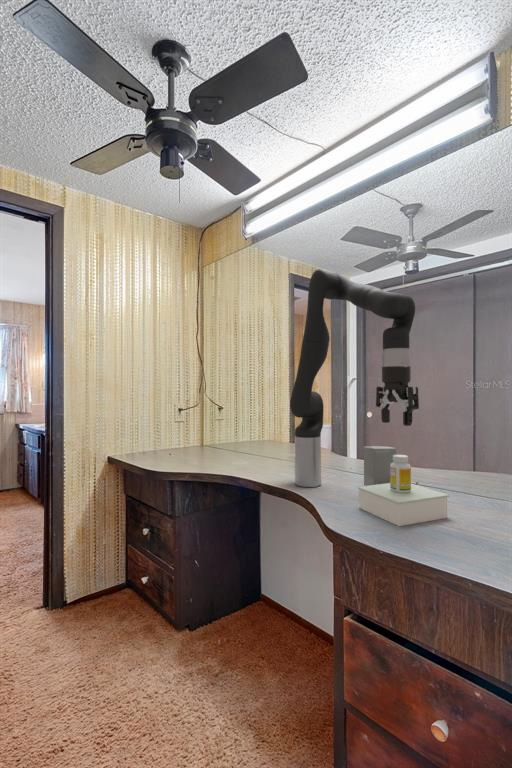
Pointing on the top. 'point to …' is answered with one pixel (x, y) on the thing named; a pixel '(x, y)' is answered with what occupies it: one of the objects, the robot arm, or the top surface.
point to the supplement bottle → (400, 474)
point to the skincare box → (377, 464)
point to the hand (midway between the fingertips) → (396, 424)
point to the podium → (403, 504)
